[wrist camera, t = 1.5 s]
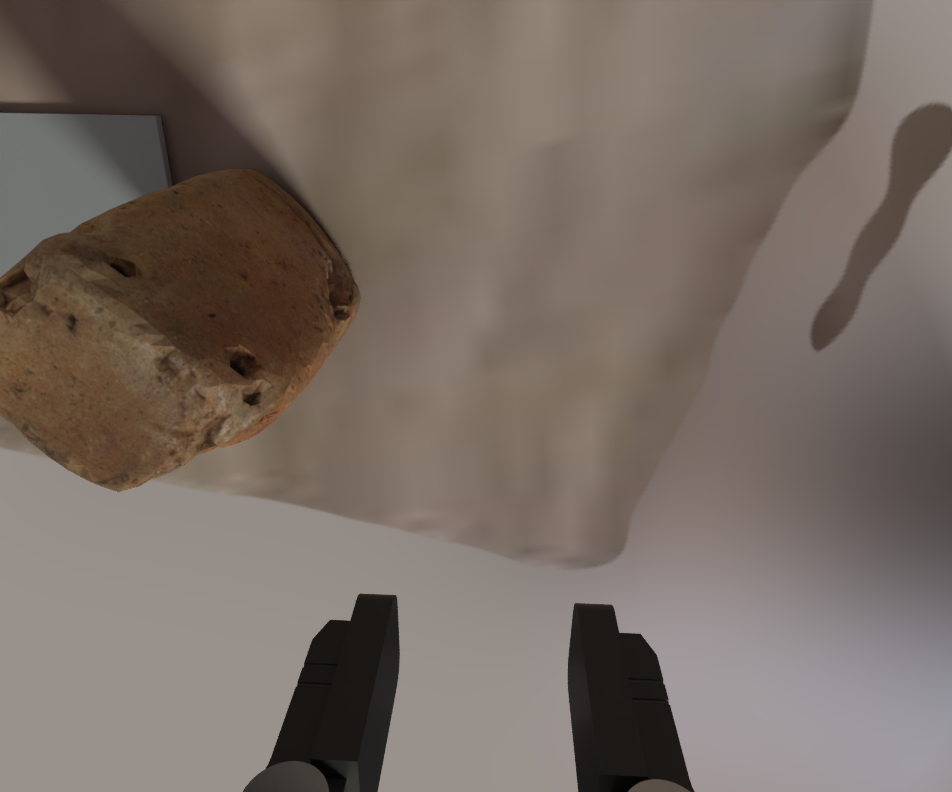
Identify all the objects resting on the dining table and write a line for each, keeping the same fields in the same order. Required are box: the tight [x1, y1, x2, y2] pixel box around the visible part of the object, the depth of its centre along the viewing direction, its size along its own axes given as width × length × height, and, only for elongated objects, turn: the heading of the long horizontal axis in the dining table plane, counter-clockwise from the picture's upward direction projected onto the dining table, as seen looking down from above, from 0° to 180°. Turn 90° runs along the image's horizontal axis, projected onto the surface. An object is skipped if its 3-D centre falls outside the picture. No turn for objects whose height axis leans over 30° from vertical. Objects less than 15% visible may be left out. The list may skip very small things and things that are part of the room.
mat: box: [0, 112, 173, 277], centre depth 40 cm, size 15×13×1 cm
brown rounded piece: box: [0, 169, 361, 492], centre depth 31 cm, size 11×8×20 cm
